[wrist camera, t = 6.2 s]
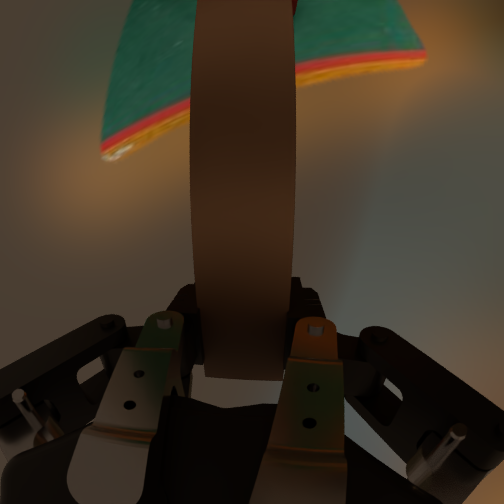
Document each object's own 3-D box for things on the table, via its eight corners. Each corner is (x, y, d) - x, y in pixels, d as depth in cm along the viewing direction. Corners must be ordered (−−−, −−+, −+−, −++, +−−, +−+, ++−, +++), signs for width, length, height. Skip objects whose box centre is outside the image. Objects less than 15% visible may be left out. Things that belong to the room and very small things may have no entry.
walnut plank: (222, -19, 8) (207, -65, 4) (282, -21, 8) (284, -68, 4) (220, 323, 14) (205, 376, 10) (280, 326, 13) (282, 380, 10)
